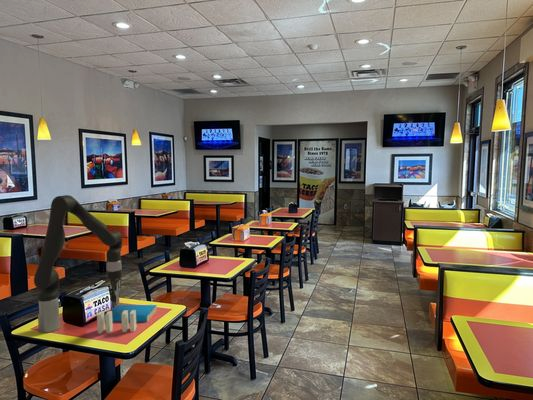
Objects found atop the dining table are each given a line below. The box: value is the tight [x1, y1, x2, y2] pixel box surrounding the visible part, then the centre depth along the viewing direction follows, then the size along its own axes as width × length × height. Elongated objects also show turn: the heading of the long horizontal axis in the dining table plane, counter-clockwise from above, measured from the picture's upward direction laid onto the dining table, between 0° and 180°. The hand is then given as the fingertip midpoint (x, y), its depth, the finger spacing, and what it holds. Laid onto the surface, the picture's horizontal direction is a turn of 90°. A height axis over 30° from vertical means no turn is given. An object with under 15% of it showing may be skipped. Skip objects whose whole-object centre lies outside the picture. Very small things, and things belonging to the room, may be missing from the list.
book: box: [104, 304, 158, 323], centre depth 220 cm, size 17×4×25 cm
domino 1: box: [96, 311, 106, 334], centre depth 200 cm, size 2×5×10 cm, turn 5°
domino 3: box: [111, 287, 120, 307], centre depth 199 cm, size 2×5×10 cm, turn 5°
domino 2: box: [104, 310, 114, 334], centre depth 200 cm, size 2×5×10 cm, turn 6°
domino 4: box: [121, 310, 130, 333], centre depth 201 cm, size 2×5×10 cm, turn 6°
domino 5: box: [129, 310, 137, 333], centre depth 202 cm, size 2×5×10 cm, turn 6°
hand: (115, 299), depth 199 cm, fingers closed on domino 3, 5 cm apart
